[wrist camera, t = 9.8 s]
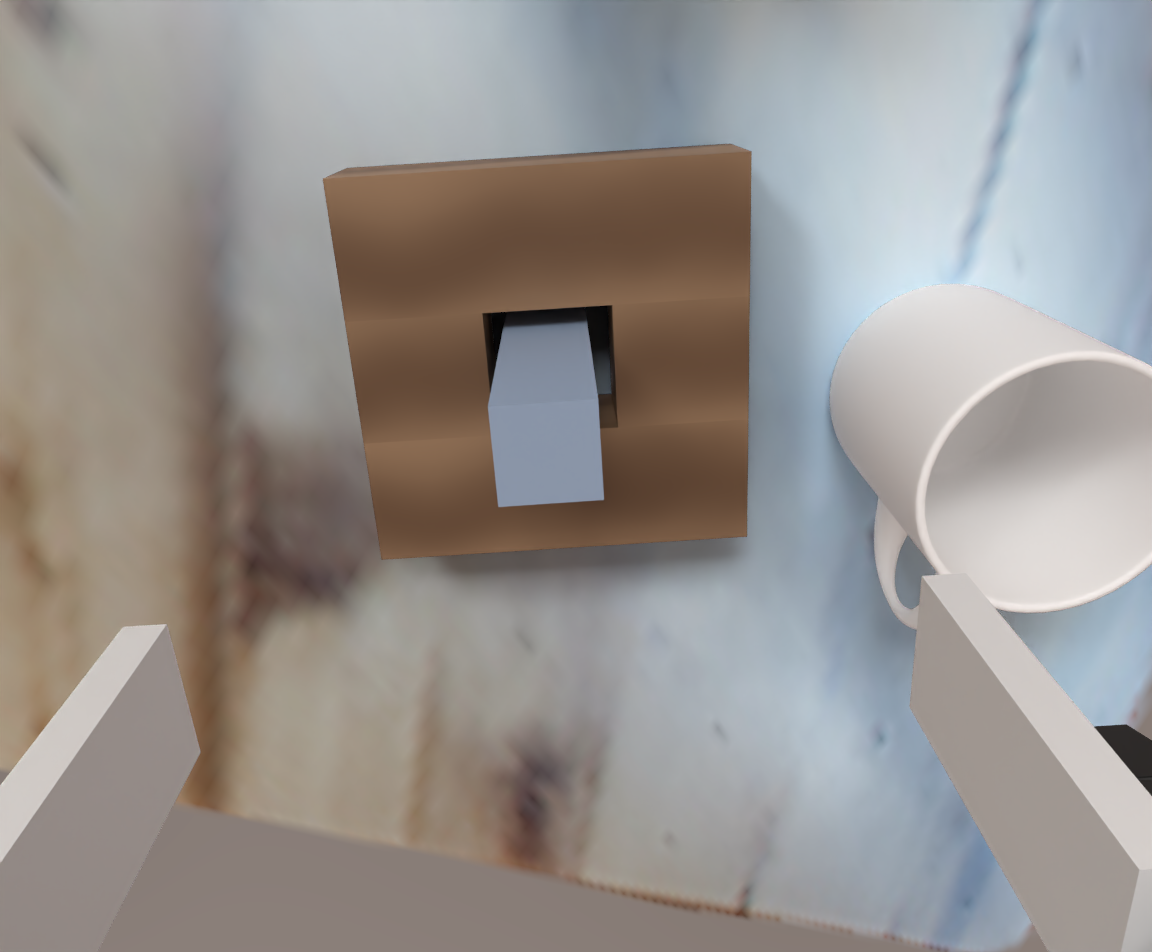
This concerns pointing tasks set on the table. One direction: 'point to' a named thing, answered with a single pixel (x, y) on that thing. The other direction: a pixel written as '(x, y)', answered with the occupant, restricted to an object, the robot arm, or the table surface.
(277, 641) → the table surface
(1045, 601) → the mug
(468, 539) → the socket block
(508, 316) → the peg
